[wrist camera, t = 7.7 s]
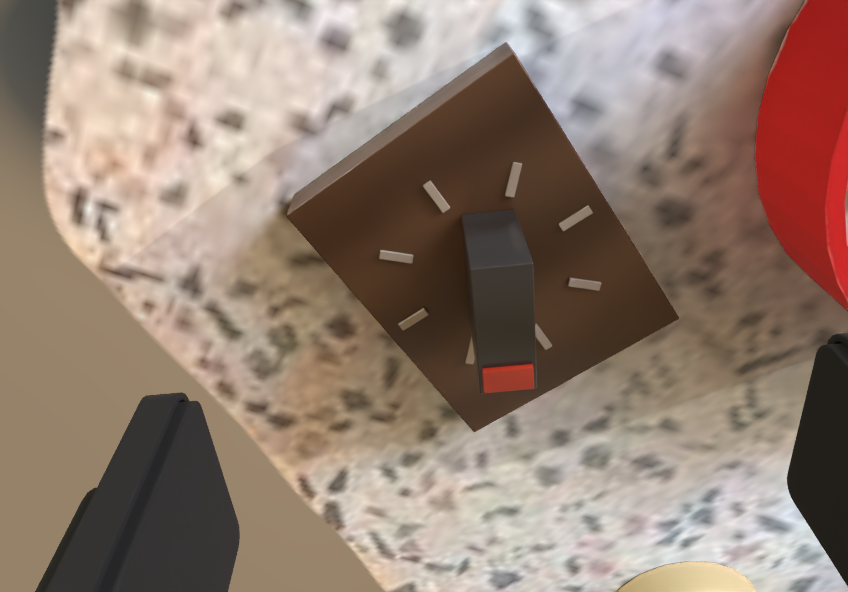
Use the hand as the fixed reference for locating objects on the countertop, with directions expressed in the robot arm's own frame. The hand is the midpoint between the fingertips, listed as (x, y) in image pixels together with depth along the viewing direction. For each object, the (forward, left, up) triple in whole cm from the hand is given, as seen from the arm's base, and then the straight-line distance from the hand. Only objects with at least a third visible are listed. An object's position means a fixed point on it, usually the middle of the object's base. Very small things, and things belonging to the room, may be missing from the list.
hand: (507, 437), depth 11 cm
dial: (+6, -2, -18) cm, 20 cm away
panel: (+6, -2, -21) cm, 22 cm away
